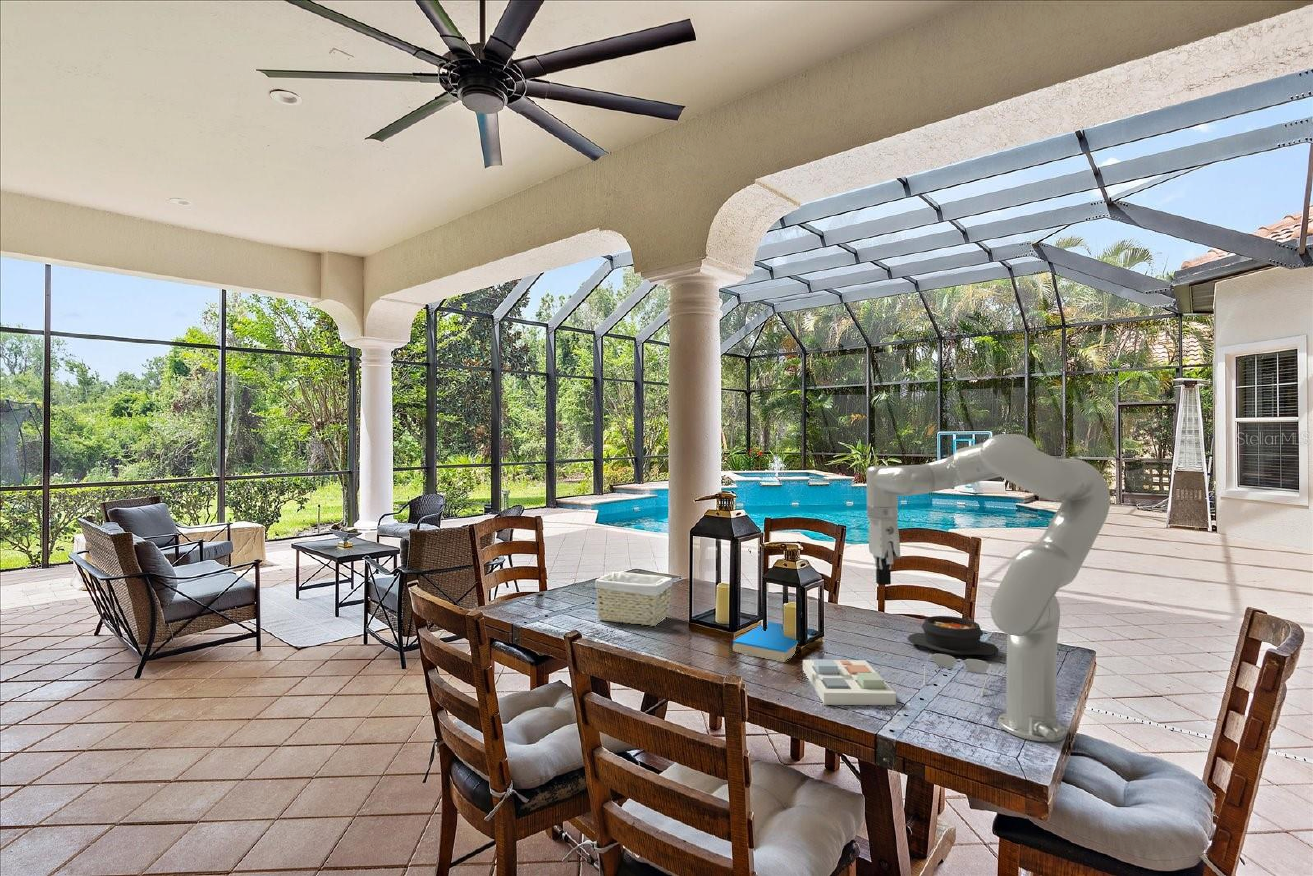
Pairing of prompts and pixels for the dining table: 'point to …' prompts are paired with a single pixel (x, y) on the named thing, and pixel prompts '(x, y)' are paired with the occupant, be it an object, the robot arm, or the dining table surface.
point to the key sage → (870, 681)
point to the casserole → (952, 636)
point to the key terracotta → (857, 669)
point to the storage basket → (633, 598)
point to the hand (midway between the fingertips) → (883, 584)
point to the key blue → (825, 667)
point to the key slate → (835, 683)
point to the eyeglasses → (969, 664)
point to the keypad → (855, 692)
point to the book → (767, 643)
